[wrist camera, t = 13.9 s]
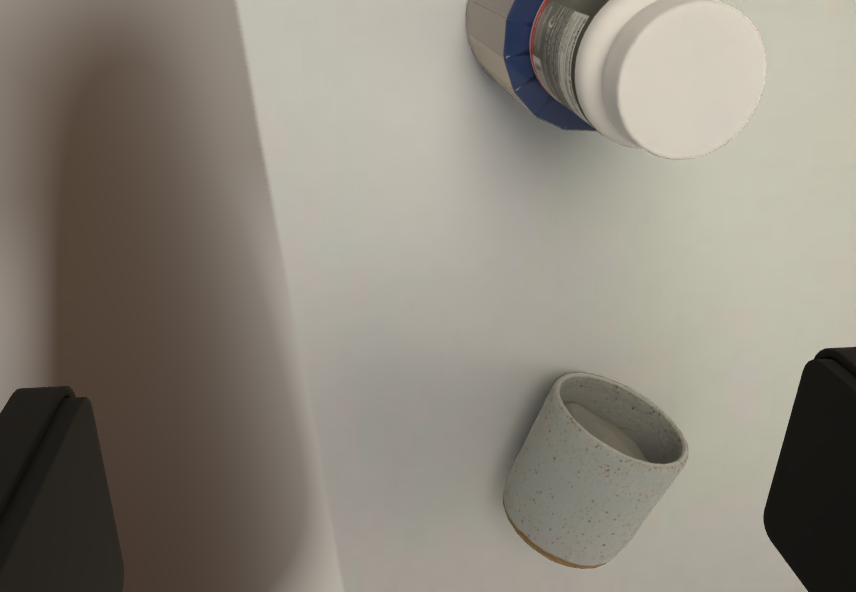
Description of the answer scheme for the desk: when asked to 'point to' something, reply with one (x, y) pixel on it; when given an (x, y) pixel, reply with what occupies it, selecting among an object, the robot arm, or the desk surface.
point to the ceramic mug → (591, 470)
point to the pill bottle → (652, 70)
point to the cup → (514, 56)
